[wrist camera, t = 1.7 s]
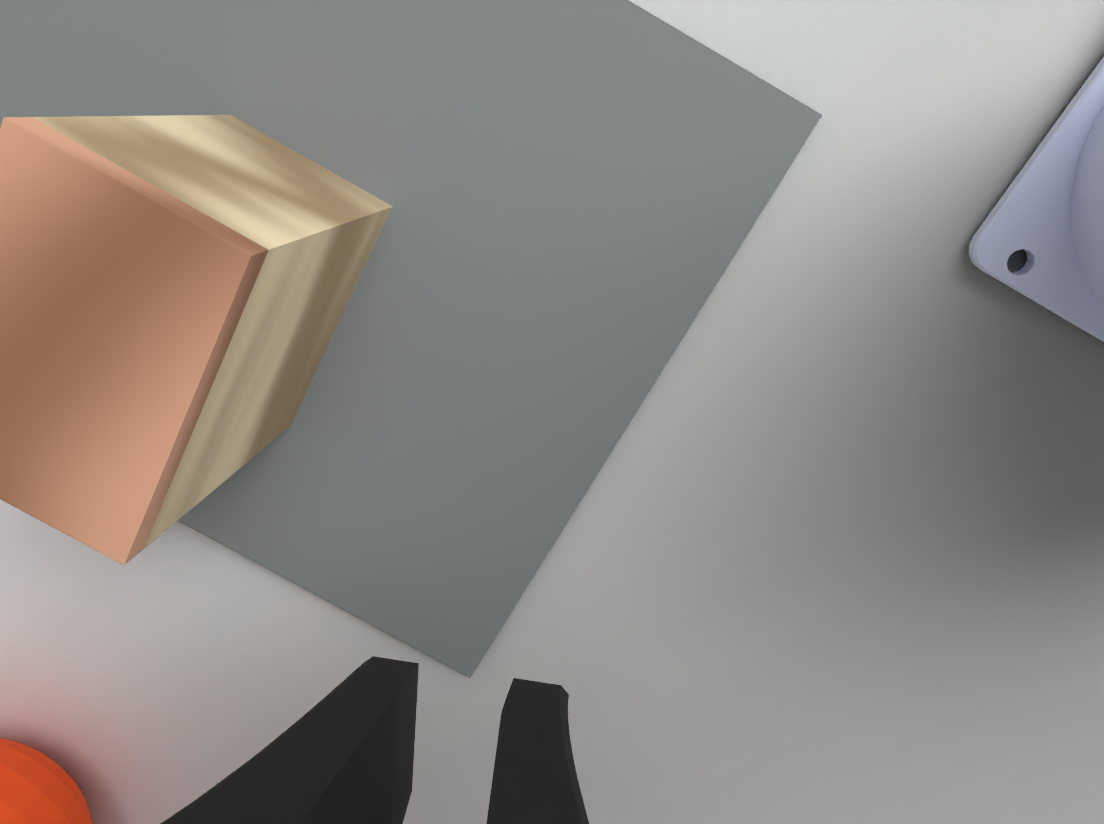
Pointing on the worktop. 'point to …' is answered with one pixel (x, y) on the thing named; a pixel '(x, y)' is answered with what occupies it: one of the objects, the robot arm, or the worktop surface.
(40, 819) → the clementine
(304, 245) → the maple block
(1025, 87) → the worktop surface
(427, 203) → the slate mat
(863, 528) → the worktop surface
